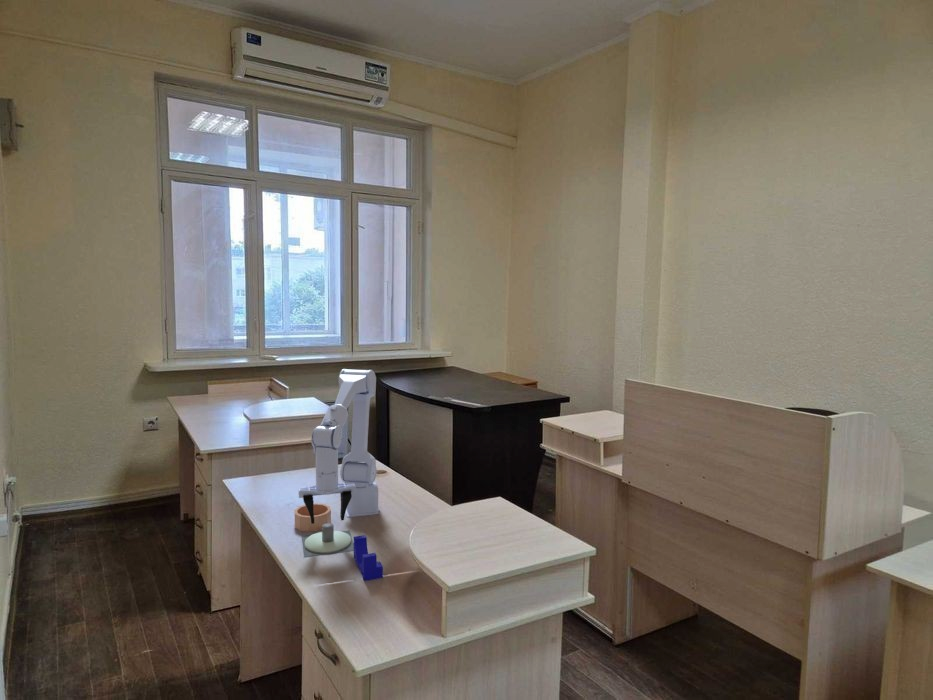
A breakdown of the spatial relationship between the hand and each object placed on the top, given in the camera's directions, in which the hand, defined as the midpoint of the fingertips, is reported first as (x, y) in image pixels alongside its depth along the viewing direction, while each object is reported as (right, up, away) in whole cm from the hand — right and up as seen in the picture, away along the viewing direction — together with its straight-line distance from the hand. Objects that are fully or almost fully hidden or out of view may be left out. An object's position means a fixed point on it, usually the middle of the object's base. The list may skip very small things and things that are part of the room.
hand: (327, 520), depth 154 cm
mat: (0, -7, +1) cm, 7 cm away
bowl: (-7, -5, +13) cm, 16 cm away
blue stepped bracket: (+13, -9, -12) cm, 19 cm away
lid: (0, -6, +1) cm, 6 cm away
